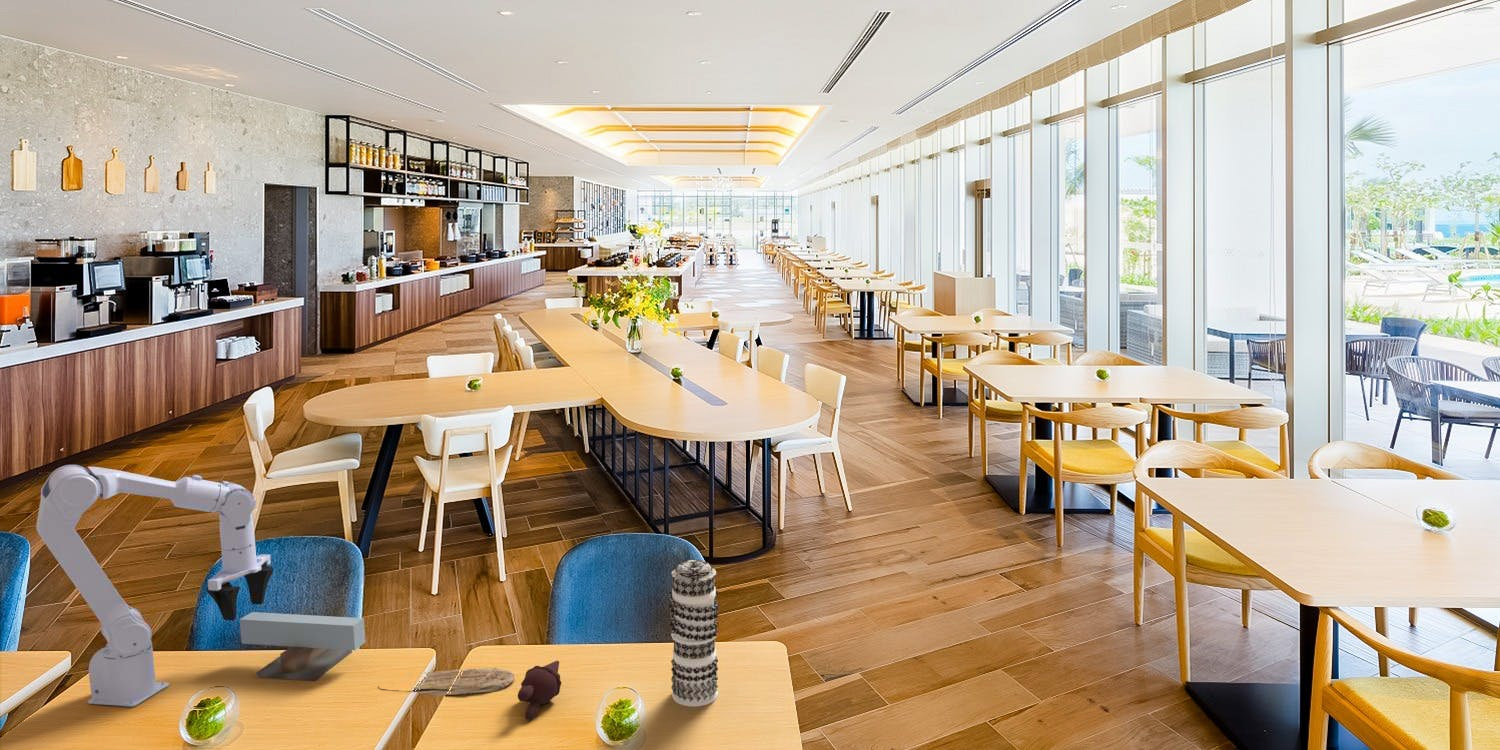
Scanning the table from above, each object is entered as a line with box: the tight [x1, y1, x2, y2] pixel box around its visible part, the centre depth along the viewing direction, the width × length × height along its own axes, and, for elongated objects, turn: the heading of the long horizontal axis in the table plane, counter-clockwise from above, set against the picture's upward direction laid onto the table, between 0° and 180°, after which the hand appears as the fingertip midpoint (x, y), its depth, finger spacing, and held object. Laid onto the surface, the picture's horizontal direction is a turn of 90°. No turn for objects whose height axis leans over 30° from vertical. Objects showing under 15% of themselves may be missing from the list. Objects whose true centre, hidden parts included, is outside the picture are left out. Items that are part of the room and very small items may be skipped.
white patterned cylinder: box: [667, 559, 720, 708], centre depth 152 cm, size 9×9×25 cm
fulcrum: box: [256, 646, 353, 682], centre depth 165 cm, size 12×12×4 cm
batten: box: [239, 611, 366, 651], centre depth 164 cm, size 24×4×5 cm, turn 83°
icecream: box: [517, 660, 562, 721], centre depth 151 cm, size 7×7×15 cm
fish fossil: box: [413, 667, 515, 697], centre depth 159 cm, size 26×10×1 cm, turn 96°
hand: (243, 611), depth 166 cm, fingers open, 7 cm apart
